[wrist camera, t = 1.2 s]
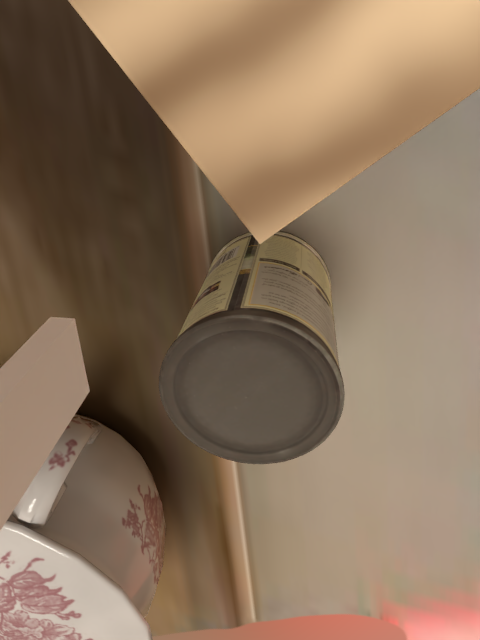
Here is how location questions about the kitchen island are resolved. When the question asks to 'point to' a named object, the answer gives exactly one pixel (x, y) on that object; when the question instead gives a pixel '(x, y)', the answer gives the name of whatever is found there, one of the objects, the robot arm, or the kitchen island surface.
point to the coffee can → (257, 355)
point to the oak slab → (291, 86)
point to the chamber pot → (83, 543)
